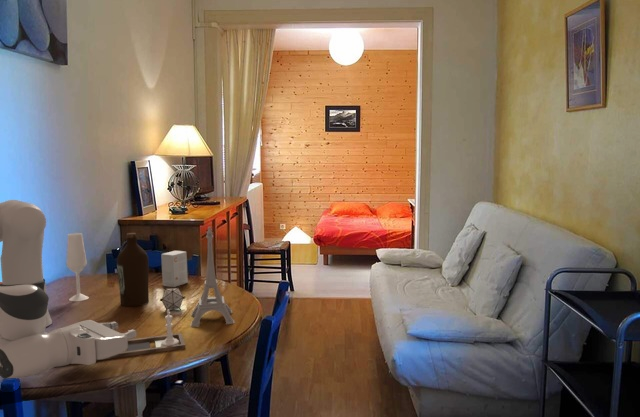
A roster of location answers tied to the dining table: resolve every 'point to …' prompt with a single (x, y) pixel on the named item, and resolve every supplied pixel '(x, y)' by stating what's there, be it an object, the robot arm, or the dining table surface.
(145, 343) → the tiles
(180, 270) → the small box
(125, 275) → the olive oil
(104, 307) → the dining table surface
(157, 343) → the pad
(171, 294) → the game die
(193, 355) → the dining table surface
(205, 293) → the eiffel tower
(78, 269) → the champagne flute
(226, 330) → the dining table surface
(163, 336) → the tray
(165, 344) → the chess piece
